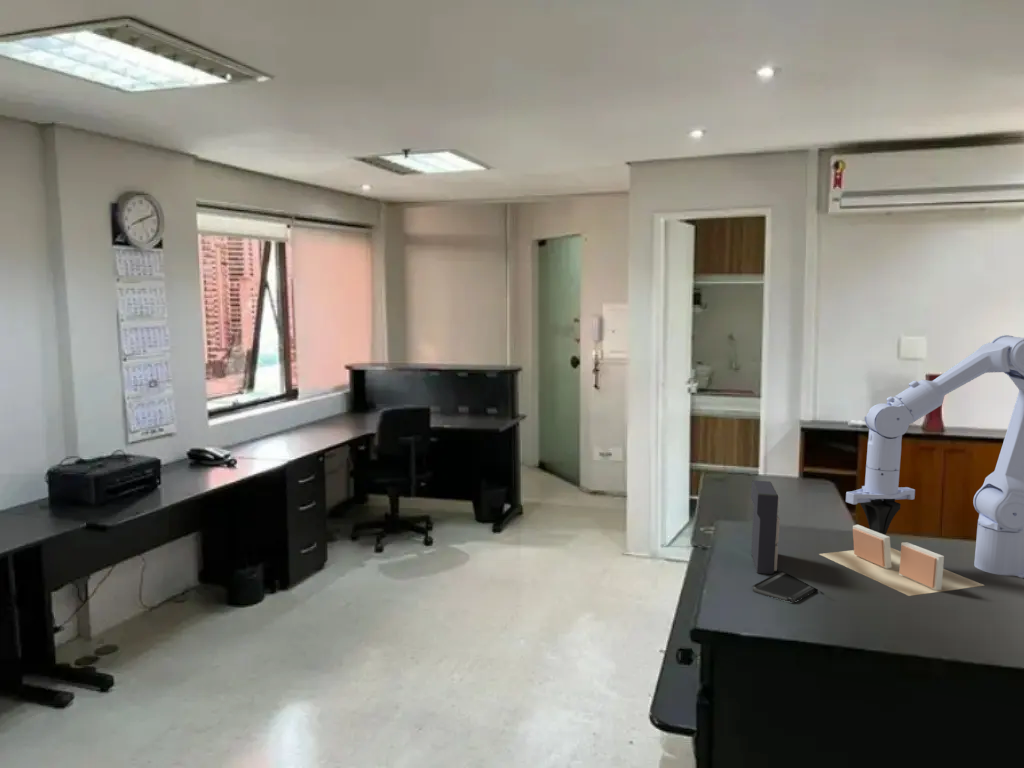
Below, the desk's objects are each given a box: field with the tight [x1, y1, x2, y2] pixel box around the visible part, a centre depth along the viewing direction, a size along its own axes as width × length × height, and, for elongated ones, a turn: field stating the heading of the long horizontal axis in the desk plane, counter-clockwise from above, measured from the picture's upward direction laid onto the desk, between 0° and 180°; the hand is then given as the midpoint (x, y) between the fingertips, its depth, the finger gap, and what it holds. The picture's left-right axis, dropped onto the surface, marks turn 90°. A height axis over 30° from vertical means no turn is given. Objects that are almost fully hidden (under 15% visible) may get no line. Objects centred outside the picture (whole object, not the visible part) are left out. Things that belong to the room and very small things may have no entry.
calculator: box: [750, 480, 781, 575], centre depth 146 cm, size 11×4×15 cm, turn 168°
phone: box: [752, 570, 819, 602], centre depth 136 cm, size 8×1×15 cm
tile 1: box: [852, 524, 891, 569], centre depth 147 cm, size 2×8×6 cm, turn 19°
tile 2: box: [899, 541, 945, 591], centre depth 136 cm, size 2×8×6 cm, turn 19°
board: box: [818, 546, 985, 597], centre depth 144 cm, size 17×22×1 cm
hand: (877, 538), depth 147 cm, fingers closed
